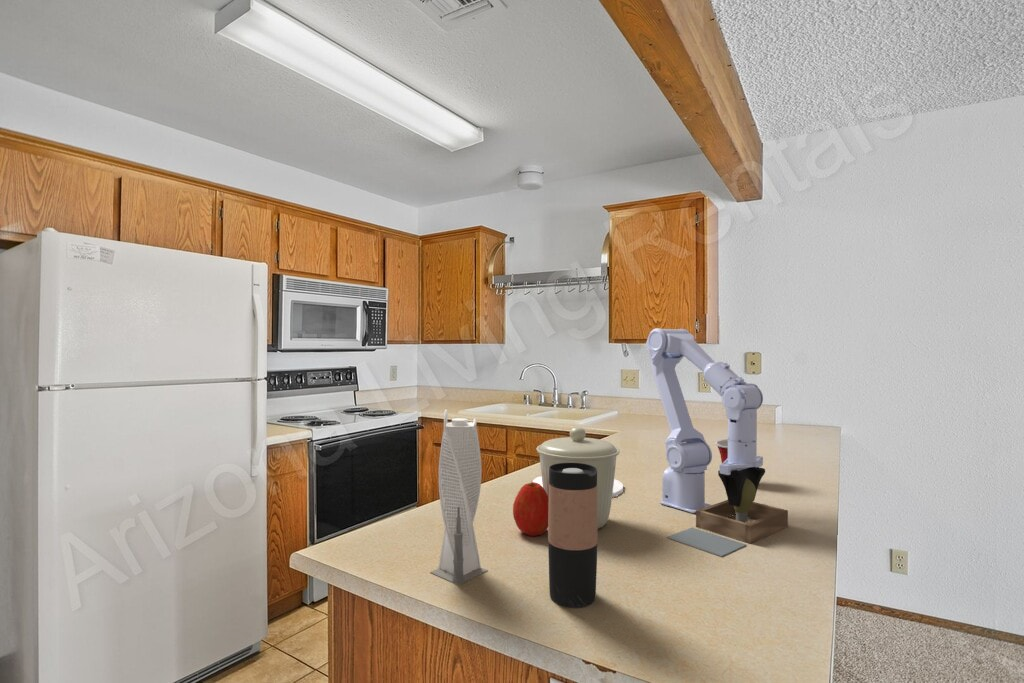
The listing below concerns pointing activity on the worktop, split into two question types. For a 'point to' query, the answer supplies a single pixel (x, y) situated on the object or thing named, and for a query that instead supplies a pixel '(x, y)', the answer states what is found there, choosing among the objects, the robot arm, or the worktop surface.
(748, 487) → the light bulb
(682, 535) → the pad
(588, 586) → the travel mug
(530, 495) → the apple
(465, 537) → the skyscraper
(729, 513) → the walnut box
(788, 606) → the worktop surface
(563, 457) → the canister
